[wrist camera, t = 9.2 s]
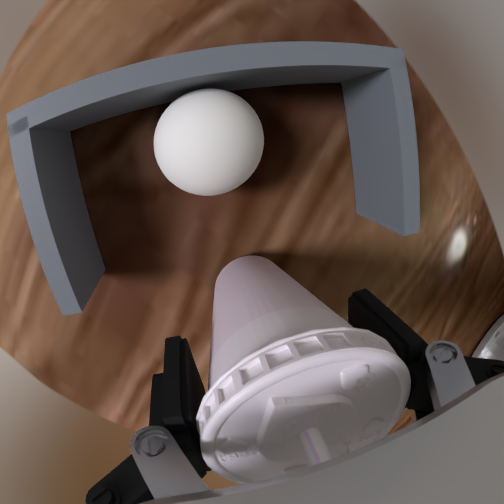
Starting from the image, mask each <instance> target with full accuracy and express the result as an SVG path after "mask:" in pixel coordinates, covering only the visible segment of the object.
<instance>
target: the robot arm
mask: <svg viewBox="0 0 504 504" xmlns="http://www.w3.org/2000/svg"><path fill="white" fill-rule="evenodd" d="M348 323H349V324H350V325H351V326H352V327H354V328H359V329H366V330H369V331H371V332H373V333H375V334H377V335H379V336H380V337H382V338H384V339H386V340H387V341H388V343H389V344H390V345H391V347H392V348H393V350H394V351H395V352H396V354H397V356H398V357H399V358H400V359H401V360H402V361H403V362H404V363H405V365H406V366H407V368H408V370H409V373H410V378H411V389H410V394H409V398H408V401H407V403H406V406H405V408H406V407H407V408H408V409H410V412H411V418H412V424H410V425H408V426H406V427H404V428H403V429H401V430H399V431H396V432H394V433H392V434H390V435H388V436H386V437H384V438H382V439H380V440H377V441H375V442H373V443H371V444H368V445H366V446H364V447H361V448H359V449H357V450H354V451H352V452H349V453H347V454H344V455H341V456H339V457H336V458H333V459H331V460H328V461H325V462H322V463H319V464H316V465H313V466H310V467H307V468H304V469H300V470H297V471H294V472H290V473H287V474H283V475H280V476H276V477H272V478H268V479H264V480H260V481H255V482H251V483H246V484H241V485H237V486H232V487H227V488H221V489H216V490H209V489H208V487H207V486H206V485H205V483H204V482H203V480H202V478H203V477H204V476H205V475H206V474H207V473H206V471H211V468H210V467H209V466H208V465H207V464H206V462H205V461H204V459H203V456H202V453H201V447H200V436H199V432H198V430H197V423H196V416H197V413H198V410H199V407H200V404H201V402H202V399H203V397H204V395H205V394H206V393H205V389H204V386H203V383H202V381H201V378H200V375H199V372H198V370H197V367H196V364H195V361H194V359H193V356H192V353H191V350H190V347H189V344H188V341H187V339H186V338H184V339H181V337H180V336H175V337H170V338H166V340H165V354H164V372H163V373H159V374H154V375H153V378H152V390H151V404H150V420H149V426H148V427H144V428H142V429H140V430H139V431H137V432H136V433H135V434H134V435H133V437H132V439H131V440H130V450H131V453H132V454H131V455H130V456H129V457H128V458H127V459H125V460H124V461H123V462H122V463H121V464H120V465H118V466H117V467H116V468H115V469H114V470H112V471H111V472H110V473H109V474H107V475H106V476H105V477H104V478H103V479H101V480H100V481H99V482H98V483H96V484H95V485H94V486H93V487H92V488H91V489H90V490H89V491H88V493H87V495H86V503H85V504H504V314H503V315H502V316H501V317H500V318H499V319H498V320H497V321H496V322H495V323H494V324H493V326H492V327H491V328H490V329H489V331H488V332H487V333H486V335H485V336H484V338H483V339H482V340H481V342H480V343H479V345H478V346H477V348H476V350H475V351H474V353H473V355H472V357H466V356H463V355H462V352H461V350H460V349H459V347H458V346H457V345H455V344H454V343H452V342H449V341H444V340H442V341H435V342H433V343H431V344H429V345H428V344H427V343H426V342H425V341H424V340H423V339H422V338H421V337H420V336H419V335H418V334H416V333H415V332H414V331H413V330H412V329H411V328H410V327H409V326H408V325H407V324H406V323H404V322H403V321H402V320H401V319H400V318H399V317H398V316H397V315H396V314H394V313H393V312H392V311H391V310H390V309H389V308H388V307H387V306H385V305H384V304H383V303H382V302H381V301H380V300H379V299H377V298H376V297H375V296H374V295H373V294H372V293H371V292H369V291H368V290H367V289H362V290H359V291H356V292H353V293H352V296H351V297H349V300H348Z"/></svg>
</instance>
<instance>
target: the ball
mask: <svg viewBox="0 0 504 504" xmlns="http://www.w3.org/2000/svg"><path fill="white" fill-rule="evenodd" d="M263 147H264V135H263V129H262V125H261V122H260V120H259V117H258V116H257V114H256V112H255V111H254V110H253V108H252V107H251V106H250V105H249V104H248V103H247V102H246V101H245V100H244V99H242V98H241V97H239V96H238V95H236V94H234V93H231V92H229V91H225V90H221V89H214V88H206V89H199V90H195V91H192V92H189V93H187V94H185V95H183V96H181V97H179V98H178V99H176V100H175V101H174V102H173V103H171V104H170V105H169V106H168V107H167V109H166V110H165V111H164V113H163V114H162V116H161V118H160V119H159V121H158V124H157V126H156V129H155V134H154V153H155V157H156V160H157V163H158V165H159V167H160V169H161V171H162V172H163V174H164V175H165V176H166V178H167V179H168V180H169V181H170V182H172V183H173V184H174V185H175V186H177V187H179V188H180V189H182V190H184V191H187V192H189V193H192V194H196V195H203V196H212V195H219V194H223V193H226V192H229V191H231V190H233V189H235V188H237V187H238V186H240V185H241V184H242V183H244V182H245V181H246V180H247V179H248V178H249V177H250V176H251V175H252V174H253V172H254V171H255V169H256V168H257V166H258V164H259V162H260V159H261V156H262V153H263Z"/></svg>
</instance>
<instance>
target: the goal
mask: <svg viewBox="0 0 504 504" xmlns="http://www.w3.org/2000/svg"><path fill="white" fill-rule="evenodd" d="M312 83H341V85H342V91H343V97H344V103H345V110H346V117H347V124H348V131H349V139H350V147H351V156H352V166H353V176H354V188H355V201H356V214H358V215H360V216H362V217H365V218H367V219H369V220H371V221H373V222H375V223H377V224H379V225H382V226H384V227H386V228H388V229H390V230H392V231H394V232H396V233H398V234H400V235H402V236H408V235H411V234H415V233H419V232H420V185H419V163H418V148H417V137H416V127H415V118H414V110H413V103H412V96H411V90H410V84H409V78H408V73H407V67H406V62H405V58H404V53H403V49H397V48H390V47H383V46H375V45H365V44H354V43H339V42H268V43H253V44H241V45H231V46H223V47H215V48H208V49H201V50H195V51H189V52H184V53H179V54H174V55H169V56H164V57H159V58H155V59H151V60H147V61H143V62H139V63H135V64H131V65H128V66H124V67H121V68H117V69H114V70H111V71H107V72H104V73H101V74H98V75H95V76H92V77H89V78H87V79H84V80H81V81H78V82H76V83H73V84H70V85H68V86H65V87H63V88H60V89H58V90H56V91H53V92H51V93H48V94H46V95H44V96H42V97H39V98H37V99H35V100H33V101H31V102H29V103H27V104H25V105H23V106H21V107H19V108H17V109H15V110H13V111H11V112H9V113H7V114H6V115H7V124H8V132H9V140H10V146H11V152H12V158H13V164H14V169H15V174H16V178H17V183H18V188H19V192H20V196H21V200H22V204H23V208H24V211H25V215H26V219H27V222H28V226H29V229H30V232H31V235H32V239H33V242H34V245H35V248H36V251H37V254H38V256H39V259H40V262H41V265H42V267H43V270H44V273H45V275H46V278H47V281H48V283H49V286H50V288H51V290H52V293H53V295H54V298H55V300H56V302H57V305H58V307H59V309H60V311H61V313H62V316H66V315H71V314H76V313H81V312H82V311H83V309H84V307H85V306H86V304H87V302H88V300H89V298H90V296H91V295H92V293H93V291H94V289H95V287H96V286H97V284H98V282H99V280H100V279H101V277H102V275H103V274H104V272H105V270H106V269H105V266H104V263H103V260H102V257H101V254H100V251H99V248H98V245H97V241H96V238H95V235H94V231H93V228H92V224H91V221H90V217H89V214H88V210H87V206H86V202H85V199H84V195H83V190H82V186H81V182H80V178H79V173H78V169H77V164H76V159H75V154H74V149H73V143H72V138H71V132H70V131H73V130H75V129H78V128H81V127H84V126H87V125H90V124H93V123H96V122H99V121H102V120H105V119H108V118H111V117H115V116H118V115H122V114H125V113H129V112H132V111H136V110H140V109H144V108H147V107H151V106H156V105H160V104H164V103H168V102H173V101H175V100H176V99H178V98H179V97H181V96H183V95H185V94H187V93H189V92H192V91H195V90H199V89H206V88H214V89H221V90H225V91H235V90H242V89H250V88H259V87H269V86H280V85H294V84H312Z"/></svg>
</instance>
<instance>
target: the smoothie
mask: <svg viewBox="0 0 504 504" xmlns="http://www.w3.org/2000/svg"><path fill="white" fill-rule="evenodd" d="M410 389H411V378H410V373H409V370H408V368H407V366H406V365H405V363H404V362H403V361H402V360H401V359H400V358H399V357H398V356H397V354H396V352H395V351H394V350H393V348H392V347H391V345H390V344H389V343H388V341H387V340H386V339H384V338H382V337H380V336H379V335H377V334H375V333H373V332H371V331H369V330H366V329H359V328H354V327H352V326H351V325H350V324H349V323H348V322H347V321H345V320H344V319H343V318H342V317H340V316H339V315H337V314H336V313H335V312H334V311H332V310H331V309H330V308H329V307H328V306H326V305H325V304H324V303H323V302H321V301H320V300H319V299H318V298H316V297H315V296H314V295H313V294H312V293H310V292H309V291H308V290H307V289H305V288H304V287H303V286H302V285H300V284H299V283H298V282H297V281H295V280H294V279H293V278H292V277H291V276H289V275H288V274H287V273H286V272H284V271H283V270H282V269H281V268H279V267H278V266H277V265H276V264H274V263H273V262H272V261H270V260H269V259H267V258H264V257H261V256H244V257H240V258H238V259H235V260H233V261H232V262H230V263H229V264H228V265H226V266H225V267H224V268H223V270H222V271H221V272H220V274H219V275H218V278H217V280H216V284H215V293H214V306H213V320H212V335H211V350H210V367H209V378H208V392H207V393H206V394H205V395H204V397H203V399H202V402H201V404H200V407H199V410H198V413H197V416H196V423H197V430H198V432H199V436H200V447H201V453H202V456H203V459H204V461H205V462H206V464H207V465H208V466H209V467H210V468H211V469H212V470H213V471H214V472H216V473H217V474H218V475H220V476H222V477H224V478H226V479H228V480H231V481H233V482H236V483H239V484H246V483H251V482H255V481H260V480H264V479H268V478H272V477H276V476H280V475H283V474H287V473H290V472H294V471H297V470H300V469H304V468H307V467H310V466H313V465H316V464H319V463H322V462H325V461H328V460H331V459H333V458H336V457H339V456H341V455H344V454H347V453H349V452H352V451H354V450H357V449H359V448H361V447H364V446H366V445H368V444H371V443H373V442H375V441H377V440H380V439H382V438H383V437H384V436H385V435H386V434H387V433H388V432H389V431H390V430H391V429H392V427H393V426H394V425H395V423H396V422H397V421H398V419H399V417H400V416H401V414H402V412H403V410H404V409H405V406H406V403H407V401H408V398H409V394H410Z"/></svg>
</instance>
